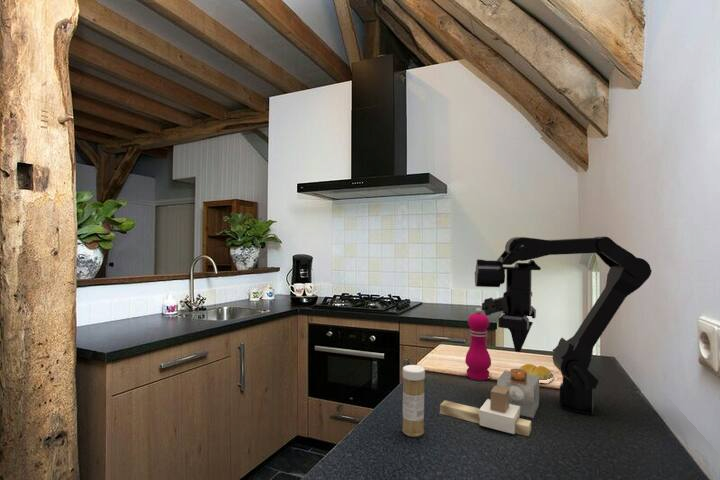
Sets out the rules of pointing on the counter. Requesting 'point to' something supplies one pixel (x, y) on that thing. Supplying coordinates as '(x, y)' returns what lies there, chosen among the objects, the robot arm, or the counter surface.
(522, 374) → the plunger
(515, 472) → the counter surface
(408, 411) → the sprinkles bottle
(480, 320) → the pepper mill
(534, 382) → the cabinet
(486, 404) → the carriage
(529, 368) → the bread roll
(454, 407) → the rail
